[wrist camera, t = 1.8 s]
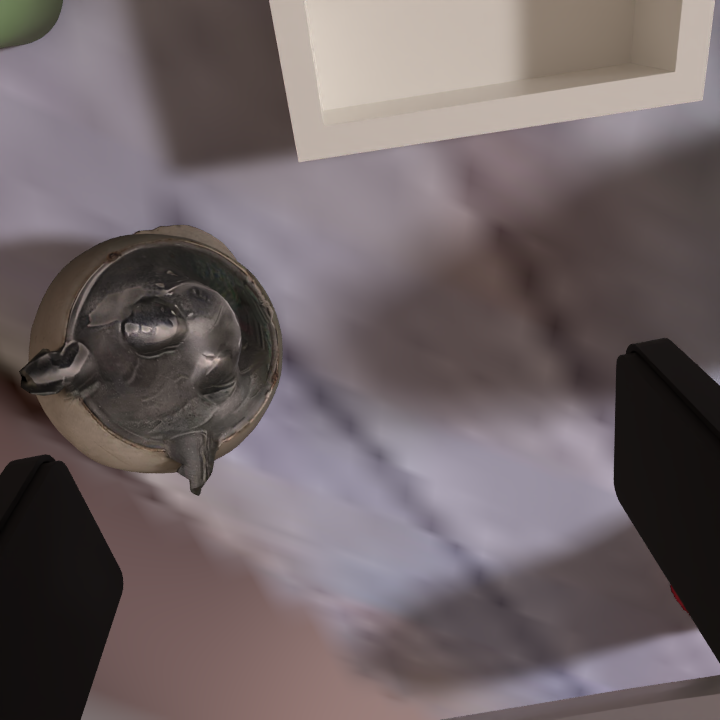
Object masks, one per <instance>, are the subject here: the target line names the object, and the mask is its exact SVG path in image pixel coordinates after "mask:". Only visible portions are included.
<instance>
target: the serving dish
mask: <svg viewBox="0 0 720 720" xmlns="http://www.w3.org/2000/svg"><path fill="white" fill-rule="evenodd" d="M269 2H270V8H271V13H272V19H273V24H274V30H275V35H276V41H277V46H278V52H279V57H280V63H281V68H282V74H283V79H284V85H285V90H286V96H287V101H288V107H289V112H290V117H291V123H292V128H293V134H294V139H295V145H296V150H297V156H298V161H299V162H304V161H310V160H317V159H323V158H330V157H336V156H343V155H349V154H356V153H362V152H369V151H376V150H382V149H389V148H395V147H402V146H408V145H415V144H421V143H428V142H434V141H441V140H447V139H454V138H460V137H467V136H473V135H480V134H486V133H493V132H499V131H506V130H512V129H519V128H525V127H532V126H538V125H545V124H551V123H558V122H564V121H571V120H577V119H584V118H591V117H597V116H604V115H610V114H617V113H623V112H630V111H636V110H643V109H649V108H656V107H662V106H669V105H675V104H682V103H688V102H695V101H701V100H703V93H704V85H705V77H706V69H707V61H708V53H709V45H710V37H711V29H712V21H713V13H714V5H715V0H269Z"/></svg>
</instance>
